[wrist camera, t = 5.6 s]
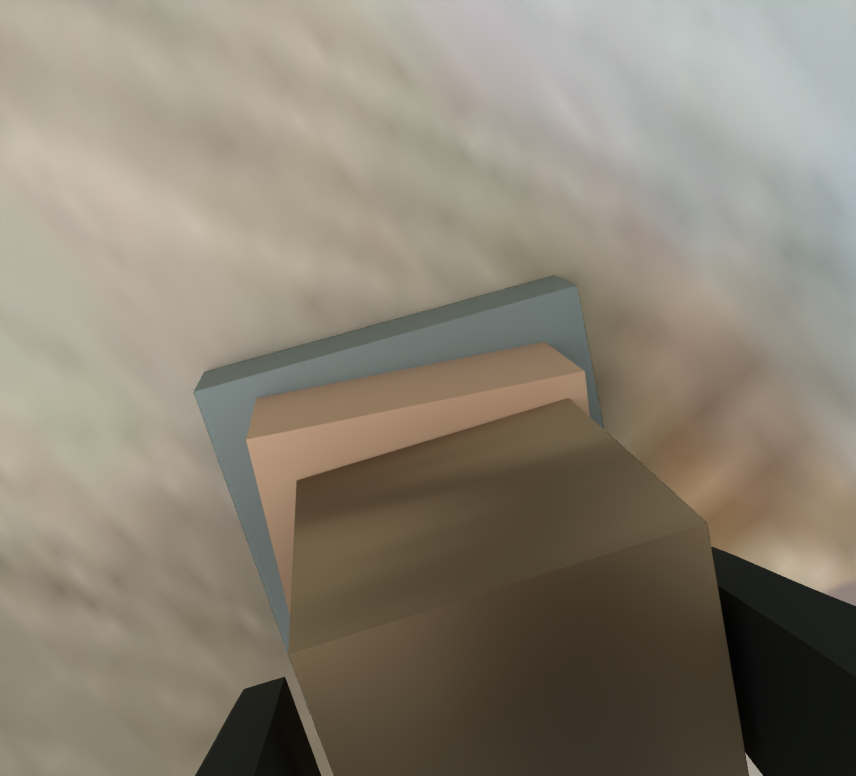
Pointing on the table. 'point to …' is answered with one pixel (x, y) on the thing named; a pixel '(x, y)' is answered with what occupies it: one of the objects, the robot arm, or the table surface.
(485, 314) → the tower base
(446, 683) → the walnut cube
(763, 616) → the robot arm
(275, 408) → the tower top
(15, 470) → the table surface
